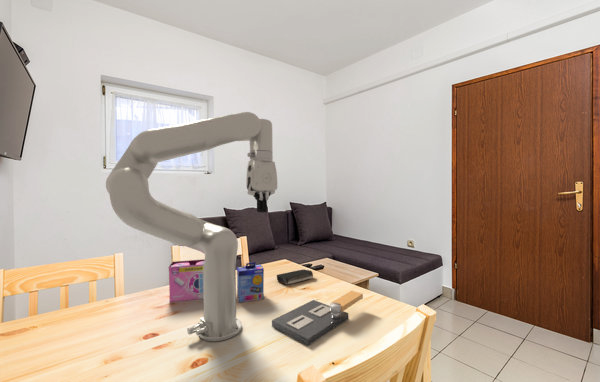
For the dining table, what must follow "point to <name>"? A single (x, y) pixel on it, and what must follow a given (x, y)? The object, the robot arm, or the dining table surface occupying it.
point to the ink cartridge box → (250, 282)
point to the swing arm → (345, 301)
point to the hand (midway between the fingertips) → (261, 211)
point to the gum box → (186, 280)
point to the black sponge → (294, 276)
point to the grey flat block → (309, 322)
